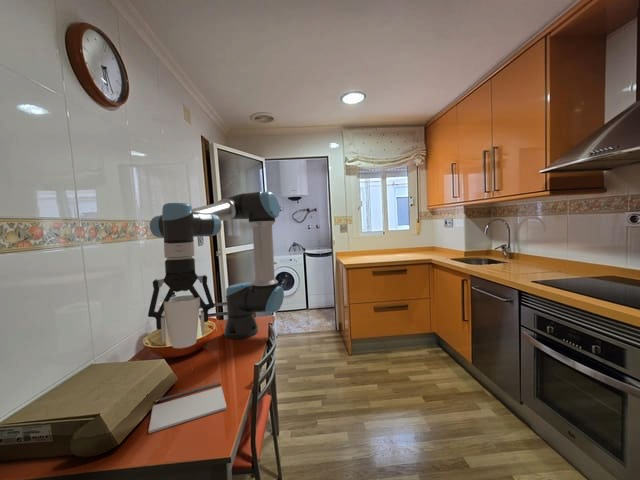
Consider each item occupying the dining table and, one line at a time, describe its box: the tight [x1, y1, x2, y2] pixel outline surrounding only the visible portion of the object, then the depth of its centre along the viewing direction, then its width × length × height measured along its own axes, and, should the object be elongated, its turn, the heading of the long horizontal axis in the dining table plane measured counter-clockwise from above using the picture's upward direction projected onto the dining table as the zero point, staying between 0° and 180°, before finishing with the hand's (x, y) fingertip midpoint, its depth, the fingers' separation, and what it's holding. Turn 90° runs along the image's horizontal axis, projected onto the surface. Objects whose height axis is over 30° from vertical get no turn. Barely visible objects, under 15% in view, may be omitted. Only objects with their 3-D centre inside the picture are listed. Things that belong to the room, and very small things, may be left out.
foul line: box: [159, 381, 222, 403], centre depth 83 cm, size 18×1×1 cm, turn 116°
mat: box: [148, 386, 227, 434], centre depth 76 cm, size 18×11×1 cm, turn 116°
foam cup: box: [163, 294, 201, 349], centre depth 79 cm, size 10×9×13 cm
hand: (184, 336), depth 79 cm, fingers closed on foam cup, 9 cm apart
